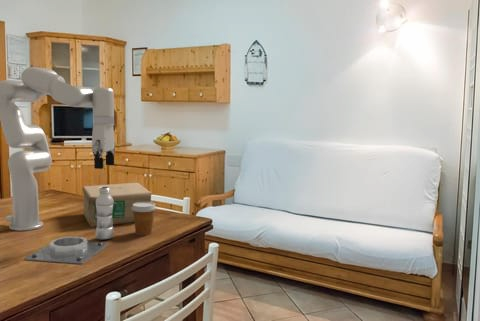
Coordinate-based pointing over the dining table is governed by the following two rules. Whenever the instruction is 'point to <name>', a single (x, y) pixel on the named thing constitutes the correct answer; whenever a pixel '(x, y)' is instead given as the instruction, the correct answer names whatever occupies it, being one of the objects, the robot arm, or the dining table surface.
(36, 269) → the dining table surface
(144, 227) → the disposable coffee cup
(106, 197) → the plastic bottle
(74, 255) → the duct flange
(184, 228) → the dining table surface
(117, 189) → the paper package
